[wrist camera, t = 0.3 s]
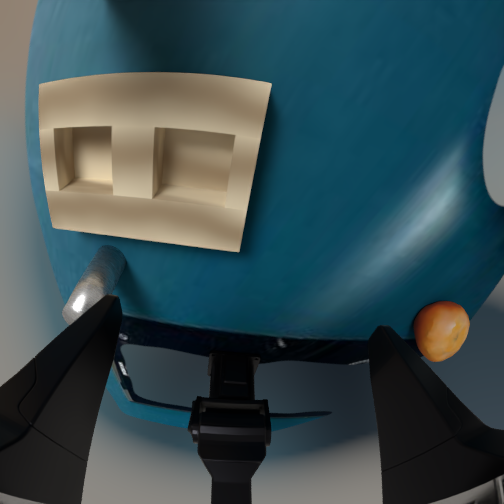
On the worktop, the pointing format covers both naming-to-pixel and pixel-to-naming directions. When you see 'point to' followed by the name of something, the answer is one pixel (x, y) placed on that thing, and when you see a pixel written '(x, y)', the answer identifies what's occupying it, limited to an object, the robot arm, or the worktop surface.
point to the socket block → (152, 155)
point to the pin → (95, 282)
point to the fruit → (441, 329)
